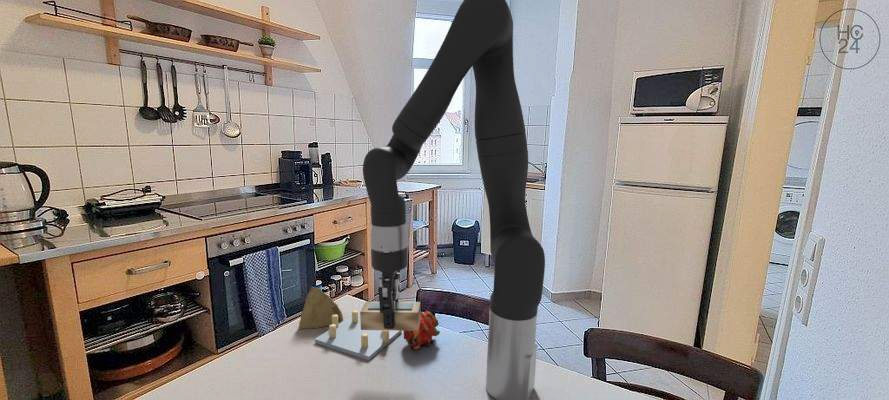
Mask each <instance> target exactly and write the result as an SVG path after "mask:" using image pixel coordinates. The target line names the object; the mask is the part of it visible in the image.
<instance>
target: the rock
mask: <svg viewBox="0 0 889 400" xmlns="http://www.w3.org/2000/svg"><path fill="white" fill-rule="evenodd" d="M335 314H337V315H338V324H339V323H341V322H342V321H344V316H343V315H344V314H343V312H342V311H341V309H340V308H339V305H338V304H337V303H336V302H335V301H334V299H332V297H330V295H328V294H326V293H325V292H324V291H322V289H320V288H319V287H316V286H315V287H314V286H311V287H310V289H309V292H308V293H307V296H306V298H305V302H304V305H303V309H302V311H301V314H300V319H299V323H298V327H297V329H298V330H303V329H308V330H309V329H310V330H311V329H318V328H319V329H320V328H323V327H327V326H328V327H329V325H331V324H332V315H335Z"/></svg>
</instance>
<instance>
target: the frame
mask: <svg viewBox="0 0 889 400" xmlns="http://www.w3.org/2000/svg"><path fill="white" fill-rule="evenodd" d="M385 306H390V305H389V304H385ZM421 306H422V305H421V301H398V302H395V327H394V328H393V329H385V328H384V319H383V313H380V303H379V301H365V302H364V304H363V305H362V308H361V310H360V311H359V318H360V322H361V330H402V331H403V330H404V331H418V330H419V325H420V320H421V312H422V311H421V308H422V307H421Z"/></svg>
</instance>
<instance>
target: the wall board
mask: <svg viewBox="0 0 889 400" xmlns="http://www.w3.org/2000/svg"><path fill="white" fill-rule="evenodd" d="M402 331H403V330H361V322H360V316H359V311H358V310H356V309H355V310H352V311H351V315H350V316H348V317H347V318H345V319H343V321H342V322H341V323H338V315H337V314H335V315H332V324H331V325H329V326H328V330H327V331H325V332H323V333H322V334H320V335H319V336H317V337H316V338H315V339H314V343H315V344H317V345H321V346H324V347H326V348H329V349H333V350H336V351H339V352H342V353H345V354H348V355H350V356H354V357H357V358H359V359H363V360H366V361H370V360H372V358H374V357H375V356H376V355H378V353H380V352H381V351H382V350H383V349H384V348H386V347H387V346H389V344H390V343H391V342H392V341H394V340H395V339H396V338H397V337H398V336H399V335H401V334H402Z"/></svg>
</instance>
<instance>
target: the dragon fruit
mask: <svg viewBox="0 0 889 400" xmlns="http://www.w3.org/2000/svg"><path fill="white" fill-rule="evenodd" d="M438 326H439V321H438V319H437V317H436V315H434V314H433V313H432V312H431V311H428V310H426V311H424V312H422V311H421V320H420V325H419V330H418V331H404V330H402V331H403V340H405V341H406V343H407V344H408V345H409V347H410V351H413V349H414V350H420V349H422V348H423V345H426V346H427V347H429V346H433V345H434V344H435V343H436V341H437V340H436V339H435V338H434V339H433V337H437V336H439V335H440V333H441V332H440V330H438V329H437V327H438Z"/></svg>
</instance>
